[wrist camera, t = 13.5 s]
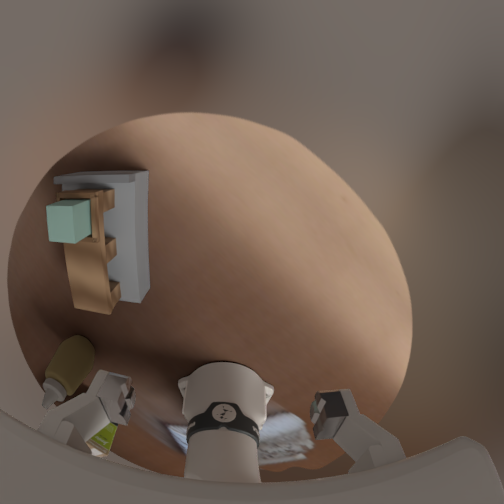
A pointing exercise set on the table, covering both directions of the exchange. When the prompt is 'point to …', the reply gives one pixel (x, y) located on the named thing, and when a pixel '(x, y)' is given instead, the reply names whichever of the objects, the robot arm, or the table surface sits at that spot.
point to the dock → (122, 225)
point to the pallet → (92, 256)
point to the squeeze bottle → (67, 369)
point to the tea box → (102, 440)
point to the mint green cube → (69, 220)
